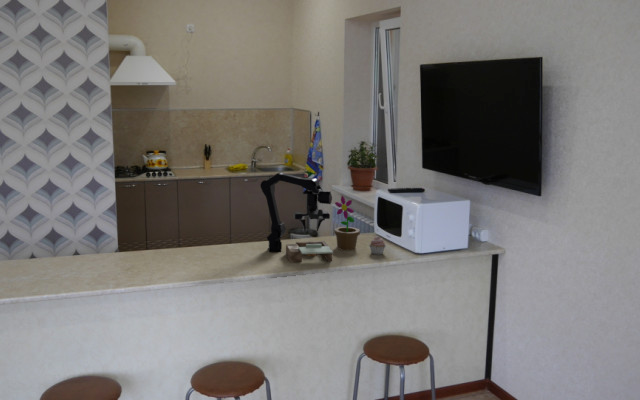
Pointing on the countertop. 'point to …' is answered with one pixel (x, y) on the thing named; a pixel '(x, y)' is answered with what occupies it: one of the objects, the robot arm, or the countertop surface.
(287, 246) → the puzzle board
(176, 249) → the countertop surface
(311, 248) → the sliding cover
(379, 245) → the cupcake
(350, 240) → the flowerpot
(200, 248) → the countertop surface
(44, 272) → the countertop surface
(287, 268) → the countertop surface
